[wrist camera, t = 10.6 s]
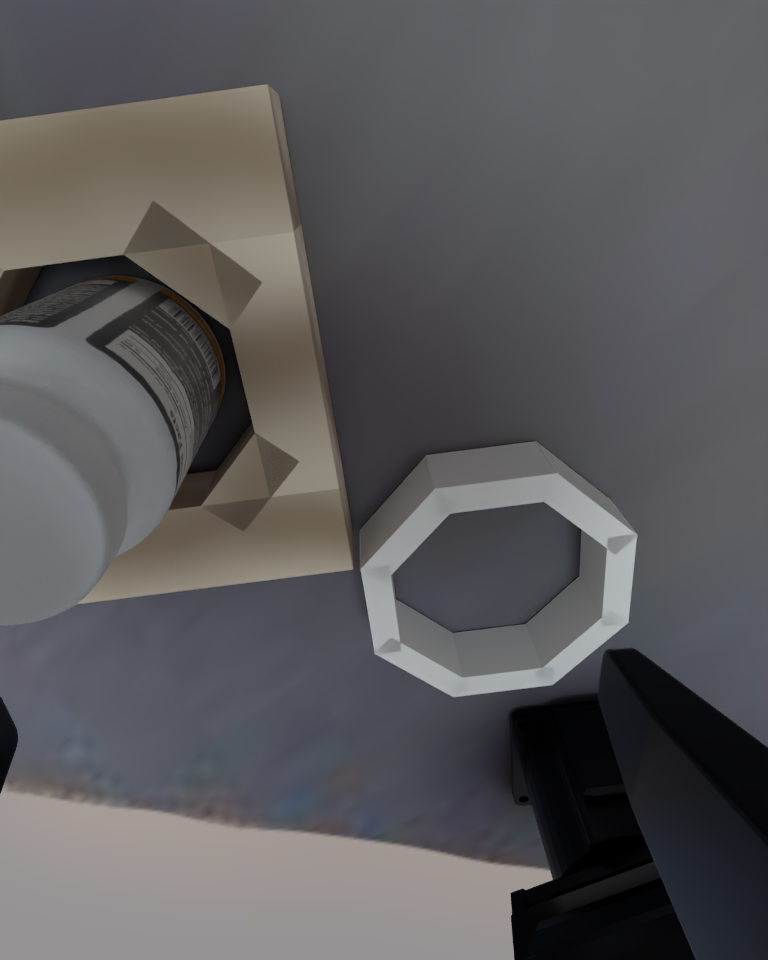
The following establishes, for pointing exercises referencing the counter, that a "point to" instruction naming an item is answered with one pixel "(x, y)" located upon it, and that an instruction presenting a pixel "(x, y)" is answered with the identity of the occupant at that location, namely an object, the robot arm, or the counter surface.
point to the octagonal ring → (510, 649)
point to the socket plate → (213, 288)
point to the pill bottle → (95, 431)
